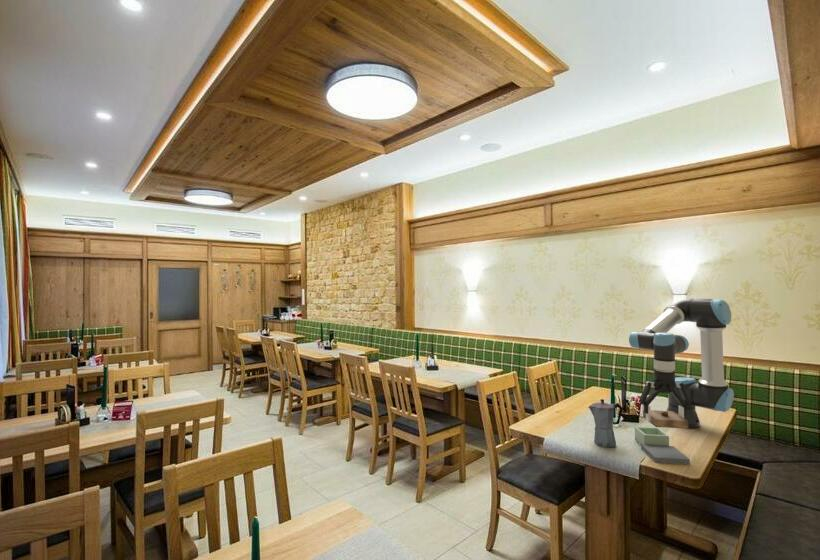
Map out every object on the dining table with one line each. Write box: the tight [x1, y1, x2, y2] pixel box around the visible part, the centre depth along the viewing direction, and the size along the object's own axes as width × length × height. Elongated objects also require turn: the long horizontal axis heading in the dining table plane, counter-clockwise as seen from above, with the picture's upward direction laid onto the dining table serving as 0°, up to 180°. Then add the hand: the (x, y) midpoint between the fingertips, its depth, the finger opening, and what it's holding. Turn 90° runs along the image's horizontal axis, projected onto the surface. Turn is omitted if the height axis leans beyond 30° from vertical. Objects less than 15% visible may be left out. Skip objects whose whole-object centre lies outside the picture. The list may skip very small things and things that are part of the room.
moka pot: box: [587, 398, 623, 448], centre depth 180 cm, size 10×15×20 cm, turn 95°
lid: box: [642, 409, 689, 429], centre depth 167 cm, size 12×12×4 cm
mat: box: [640, 444, 691, 465], centre depth 167 cm, size 13×13×2 cm
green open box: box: [634, 426, 670, 446], centre depth 179 cm, size 10×10×6 cm
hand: (664, 421), depth 167 cm, fingers closed on lid, 12 cm apart
